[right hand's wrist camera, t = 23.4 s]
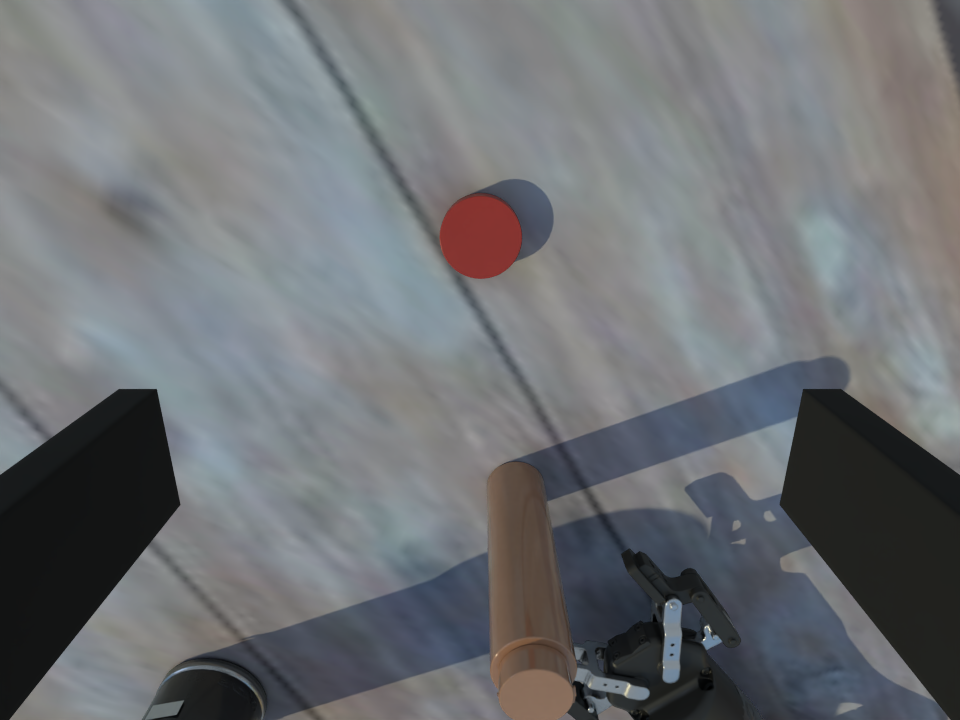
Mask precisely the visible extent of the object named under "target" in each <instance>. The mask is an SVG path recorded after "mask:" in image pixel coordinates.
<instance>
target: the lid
mask: <svg viewBox="0 0 960 720" xmlns="http://www.w3.org/2000/svg"><path fill="white" fill-rule="evenodd" d="M521 244H522V231H521V226H520V223H519V221H518V218H517V216H516V214H515V212H514V211H513V209H512V208H511V207H510V206H509V205H508V204H507V203H506V202H505V201H504V200H502V199H501V198H499V197H497V196H494V195H491V194H486V193H475V194H470V195H468V196H465V197H463V198H461V199H459V200H458V201H457V202H455V203H454V204H453V205H452V206H451V208H450V209H449V210H448V212H447V213H446V215H445V217H444V220H443V222H442V225H441V230H440V245H441V249H442V252H443V255H444V257H445V258H446V260H447V261H448V263H449V264H450V265H451V266H452V267H453V268H454V269H455V270H456V271H458V272H459V273H461V274H463V275H465V276H468V277H471V278H478V279H483V278H490V277H494V276H497V275H499V274H501V273H502V272H504V271H505V270H507V269H508V268H509V267H510V266H511V265H512V264H513V262H514V261H515V260H516V258H517V256H518V254H519V251H520V248H521Z"/></svg>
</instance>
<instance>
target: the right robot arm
mask: <svg viewBox="0 0 960 720" xmlns="http://www.w3.org/2000/svg"><path fill="white" fill-rule="evenodd" d="M179 506H180V501H179V496H178V491H177V486H176V481H175V476H174V471H173V466H172V461H171V456H170V452H169V447H168V442H167V437H166V432H165V427H164V422H163V417H162V412H161V408H160V403H159V398H158V393H157V389H119V390H117V391H116V392H114V393H113V394H112V395H110V396H109V397H107V398H106V399H105V400H103V401H102V402H101V403H99V404H98V405H96V406H95V407H94V408H92V409H91V410H89V411H88V412H87V413H85V414H84V415H83V416H81V417H80V418H78V419H77V420H76V421H74V422H73V423H71V424H70V425H69V426H67V427H66V428H65V429H63V430H62V431H60V432H59V433H58V434H56V435H55V436H53V437H52V438H51V439H49V440H48V441H47V442H45V443H44V444H42V445H41V446H40V447H38V448H37V449H36V450H34V451H33V452H31V453H30V454H29V455H27V456H26V457H24V458H23V459H22V460H20V461H19V462H18V463H16V464H15V465H13V466H12V467H11V468H9V469H8V470H6V471H5V472H4V473H2V474H1V475H0V720H9V719H10V718H11V717H12V716H13V714H14V713H15V712H16V711H17V709H18V708H19V707H20V706H21V704H22V703H23V702H24V701H25V699H26V698H27V697H28V696H29V694H30V693H31V692H32V690H33V689H34V688H35V687H36V685H37V684H38V683H39V682H40V680H41V679H42V678H43V677H44V675H45V674H46V673H47V672H48V670H49V669H50V668H51V667H52V665H53V664H54V663H55V662H56V660H57V659H58V658H59V657H60V655H61V654H62V653H63V652H64V650H65V649H66V648H67V647H68V645H69V644H70V643H71V641H72V640H73V639H74V638H75V636H76V635H77V634H78V633H79V631H80V630H81V629H82V628H83V626H84V625H85V624H86V623H87V621H88V620H89V619H90V618H91V616H92V615H93V614H94V613H95V611H96V610H97V609H98V608H99V606H100V605H101V604H102V603H103V601H104V600H105V599H106V598H107V596H108V595H109V594H110V592H111V591H112V590H113V589H114V587H115V586H116V585H117V584H118V582H119V581H120V580H121V579H122V577H123V576H124V575H125V574H126V572H127V571H128V570H129V569H130V567H131V566H132V565H133V564H134V562H135V561H136V560H137V559H138V557H139V556H140V555H141V554H142V552H143V551H144V550H145V549H146V547H147V546H148V545H149V543H150V542H151V541H152V540H153V538H154V537H155V536H156V535H157V533H158V532H159V531H160V530H161V528H162V527H163V526H164V525H165V523H166V522H167V521H168V520H169V518H170V517H171V516H172V515H173V513H174V512H175V511H176V510H177V508H178V507H179ZM780 506H781V507H782V508H783V510H784V511H785V512H786V513H787V515H788V516H789V517H790V518H791V520H792V521H793V522H794V523H795V525H796V526H797V527H798V528H799V530H800V531H801V532H802V533H803V535H804V536H805V537H806V538H807V540H808V541H809V542H810V543H811V545H812V546H813V547H814V549H815V550H816V551H817V552H818V554H819V555H820V556H821V557H822V559H823V560H824V561H825V562H826V564H827V565H828V566H829V567H830V569H831V570H832V571H833V572H834V574H835V575H836V576H837V577H838V579H839V580H840V581H841V582H842V584H843V585H844V586H845V587H846V589H847V590H848V591H849V592H850V594H851V595H852V596H853V598H854V599H855V600H856V601H857V603H858V604H859V605H860V606H861V608H862V609H863V610H864V611H865V613H866V614H867V615H868V616H869V618H870V619H871V620H872V621H873V623H874V624H875V625H876V626H877V628H878V629H879V630H880V631H881V633H882V634H883V635H884V636H885V638H886V639H887V640H888V641H889V643H890V644H891V645H892V647H893V648H894V649H895V650H896V652H897V653H898V654H899V655H900V657H901V658H902V659H903V660H904V662H905V663H906V664H907V665H908V667H909V668H910V669H911V670H912V672H913V673H914V674H915V675H916V677H917V678H918V679H919V680H920V682H921V683H922V684H923V685H924V687H925V688H926V689H927V690H928V692H929V693H930V694H931V696H932V697H933V698H934V699H935V701H936V702H937V703H938V704H939V706H940V707H941V708H942V709H943V711H944V712H945V713H946V714H947V716H948V717H949V718H950V719H951V720H960V475H959V474H958V473H956V472H955V471H954V470H952V469H951V468H949V467H948V466H947V465H945V464H944V463H942V462H941V461H940V460H938V459H937V458H936V457H934V456H933V455H931V454H930V453H929V452H927V451H926V450H924V449H923V448H922V447H920V446H919V445H918V444H916V443H915V442H913V441H912V440H911V439H909V438H908V437H907V436H905V435H904V434H902V433H901V432H900V431H898V430H897V429H895V428H894V427H893V426H891V425H890V424H889V423H887V422H886V421H884V420H883V419H882V418H880V417H879V416H877V415H876V414H875V413H873V412H872V411H871V410H869V409H868V408H866V407H865V406H864V405H862V404H861V403H859V402H858V401H857V400H855V399H854V398H853V397H851V396H850V395H848V394H847V393H846V392H844V391H843V390H841V389H803V393H802V398H801V403H800V407H799V412H798V417H797V422H796V427H795V432H794V437H793V442H792V447H791V452H790V456H789V461H788V466H787V471H786V476H785V481H784V486H783V491H782V496H781V501H780Z"/></svg>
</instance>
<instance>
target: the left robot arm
mask: <svg viewBox="0 0 960 720" xmlns="http://www.w3.org/2000/svg"><path fill="white" fill-rule="evenodd" d="M621 555H622V558H623V561H624V564H625V567H626V569H627V571H628V573H629V574H630V575H631V577H632V578H633V579H634V580H635V581H636V582H637V583H638V584H639V585H640V586H641V588H642V589H643V590H644V591H645V592H646V593H647V594H648V595H649V596H650V597H651V599H652V606H651V619H650V622H645V623H643V622H642V621H640V622H638V623H636V624H635V625H633V626H632V627H631V628H630V629H629V630H628V631H627V632H626V633H623V634H620V635H617V636H615V637H613V638H612V639H610V640H609V641H608V644H606V643H600V642H595V641H589V640H588V641H585V642H584V644H578V643H573V645H574V650H575V656H576V660H578V661H580V662H581V663H582V664H578V663H577V674H576V677H575V680H574V682H573V686H574V685H575V688H576V697H575V702H574V703H573V704H572V706H571V708H570V709H569V710H568V712H567V713H568V714H570V715H571V716H572V717H573V718H575V719H576V720H599V719H598V714H600V713H601V712H603V711H604V710H606V709H607V708H609V707H610V706H612V705H613V706H614V707H617V708H620V709H623V710H625V711H627V712H628V713H629V714H630V715H631V716H632V718H633V719H634V720H763V719H762V718H761V716H760V715H759V713H758V711H757V710H756V708H755V707H754V706H753V704H752V703H751V702H750V700H749V699H748V698H747V697H746V696H745V695H744V694H743V693H742V691H741V690H740V689H739V688H738V687H737V686H736V685H735V684H734V683H733V681H732V680H731V679H730V678H729V677H728V676H727V675H726V674H725V673H724V672H723V670H722V669H721V668H720V667H719V666H718V665H717V664H716V663H715V662H714V660H713V659H712V658H711V657H710V656H709V655H708V654H707V651H706V650H708V649H710V648H712V647H714V646H716V645H718V644H720V643H722V642H723V643H724V645H725V646H726V647H729V648H734V647H736V646H738V645H739V644H740V642H741V639H740V637H739V635H738V633H737V631H736V629H735V627H734V625H733V623H732V621H731V620H730V618H729V616H728V614H727V612H726V611H725V609H724V608H723V607H722V605H721V604H720V603H719V601H718V600H717V599H716V597H715V596H714V595H713V593H712V592H711V591H710V589H709V588H708V587H707V585H706V584H705V582H704V581H703V580H702V578H701V577H700V576H699V574H698V573H697V572H696V570H694V569H691V568H688V569H685V570H684V571H682V573H681V576H679V577H675V578H670V577H668V576H665V575H664V574H663V573H662V572H661V570H660V569H659V568H658V567H657V566H656V565H655V564H654V563H653V561H652V560H651V559H650V558H649V557H648V556H647V555H646V554H645V553H642V552H640V551H639V552H638V553H636V554H635V553H634V552H633V551H632V550H631V549H628V550H627V551H625V552H623V553H622V554H621ZM691 602H693V604H694V605H695V606H696V608H697V609H698V610H699V612H700V613H701V615H702V617H701V619H700V625H701V629H700V631H699V632H698V633H697V632H695V631H694V630H691V629H687V628H682V627H681V614H682V605H684V604H687V603H691ZM597 659H598V660H604V672H602V671H601V670H600V668H599V665H598V661H597ZM580 682H583V684H582V683H580ZM266 708H267V698H266V694H265V692H264V689H263V688H262V686H261V684H260V683H259V682H258V680H257V679H256V678H255V677H254V676H253V675H251V674H250V673H249V672H247V671H246V670H244V669H243V668H241V667H239V666H237V665H235V664H232V663H229V662H226V661H222V660H217V659H195V660H190V661H187V662H184V663H181V664H179V665H177V666H176V667H174V668H173V669H172V670H170V671H169V673H168V674H167V675H166V676H165V678H164V680H163V681H162V683H161V685H160V687H159V688H158V690H157V693H156V696H155V698H154V699H153V701H152V703H151V705H150V706H149V708H148V710H147V712H146V713H145V715H144V717H143V718H142V720H263V717H264V715H265V712H266Z"/></svg>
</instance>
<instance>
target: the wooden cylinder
mask: <svg viewBox="0 0 960 720" xmlns="http://www.w3.org/2000/svg"><path fill="white" fill-rule="evenodd" d="M487 533H488V587H489V641H490V675H491V678H492V681H493V683H494V684H495V686H496V687H497V688H498V693H497V696H498V697H499V703H500V706H501V708H502V709H503V711H504V712H505V713H506V714H507V715H508V716H509V717H510V718H512V719H514V720H557V719H559V718H561V717H562V716H563V715H565V714H566V713H567V712H568V710H569V709H570V708H571V706H572V704H573V703H574V702H575V697H576V688H575V685H574V686H573V682H574V680H575V677H576V674H577V662H576V656H575V650H574V645H573V639H572V634H571V628H570V623H569V617H568V612H567V606H566V601H565V595H564V590H563V584H562V579H561V573H560V568H559V562H558V557H557V551H556V545H555V540H554V534H553V529H552V523H551V518H550V512H549V507H548V501H547V496H546V490H545V485H544V480H543V477H542V475H541V474H540V472H539V471H538V470H537V469H536V468H534V467H533V466H531V465H529V464H527V463H523V462H509V463H505V464H503V465H501V466H499V467H498V468H496V469H495V470H494V471H493V472H492V473H491V475H490V476H489V479H488V481H487Z"/></svg>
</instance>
